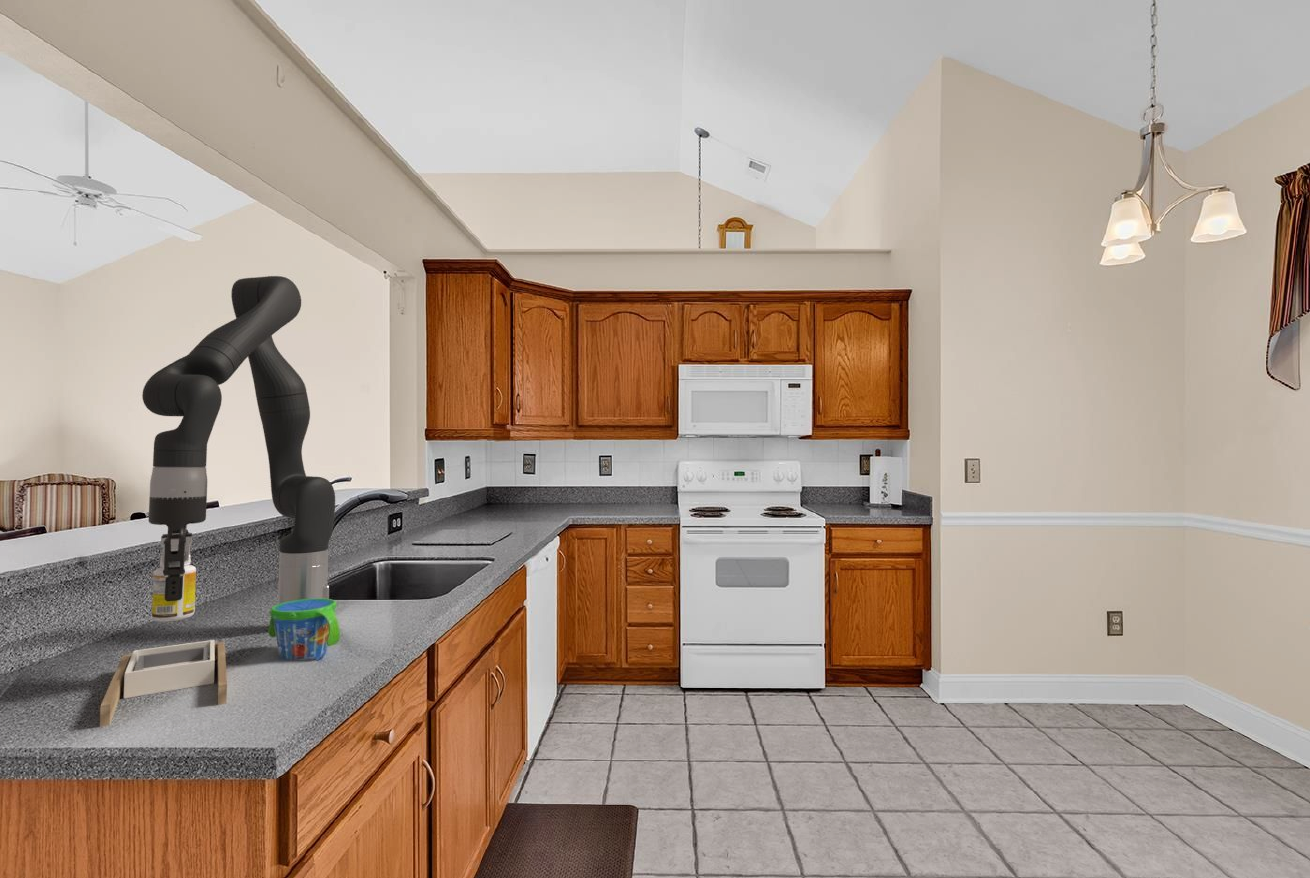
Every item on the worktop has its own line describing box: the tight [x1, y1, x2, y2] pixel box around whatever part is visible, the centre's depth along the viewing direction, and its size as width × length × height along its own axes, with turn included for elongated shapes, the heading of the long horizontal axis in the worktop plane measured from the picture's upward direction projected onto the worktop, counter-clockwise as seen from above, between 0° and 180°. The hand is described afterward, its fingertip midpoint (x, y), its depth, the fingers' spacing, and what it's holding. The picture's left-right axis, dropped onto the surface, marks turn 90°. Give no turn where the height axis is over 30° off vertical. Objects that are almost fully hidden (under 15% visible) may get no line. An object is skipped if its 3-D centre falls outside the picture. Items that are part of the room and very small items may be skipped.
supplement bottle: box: [151, 553, 197, 622], centre depth 101 cm, size 6×6×10 cm
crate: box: [123, 639, 216, 699], centre depth 100 cm, size 11×13×4 cm
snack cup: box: [267, 598, 341, 661], centre depth 114 cm, size 16×10×10 cm
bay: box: [99, 640, 228, 728], centre depth 97 cm, size 14×25×4 cm, turn 36°
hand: (174, 596), depth 101 cm, fingers closed on supplement bottle, 5 cm apart
